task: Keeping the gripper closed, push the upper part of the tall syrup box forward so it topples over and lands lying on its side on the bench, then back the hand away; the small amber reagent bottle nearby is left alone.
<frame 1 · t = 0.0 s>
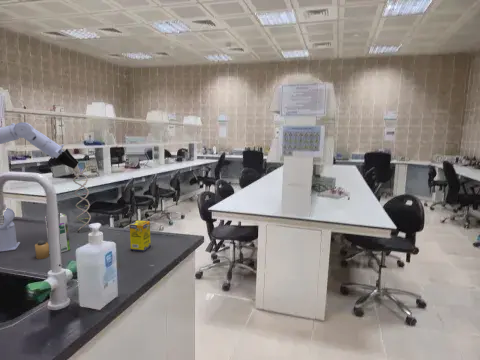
hand: (76, 165, 131), 32 cm above the counter, tool tilted 50°, fingers open, 7 cm apart
amber bottle: (43, 256, 118), on the counter
dna model: (85, 231, 147), on the counter
syrup box: (59, 251, 124), on the counter
supplement box: (141, 249, 127), on the counter
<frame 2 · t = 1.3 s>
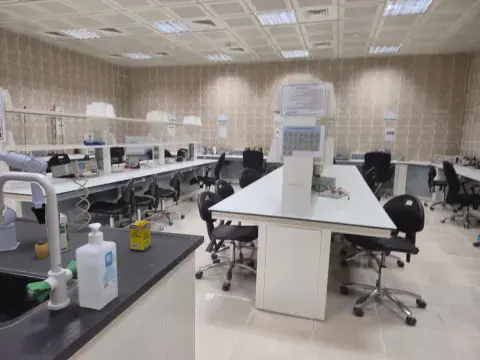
hand: (44, 221, 127), 10 cm above the counter, tool pointing down, fingers open, 6 cm apart
nothing on the counter moved.
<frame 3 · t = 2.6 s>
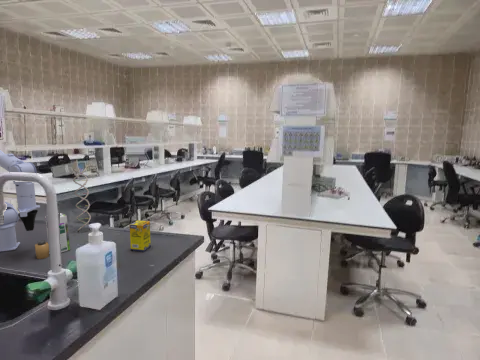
hand: (30, 230, 119), 10 cm above the counter, tool pointing down, fingers closed
nothing on the counter moved.
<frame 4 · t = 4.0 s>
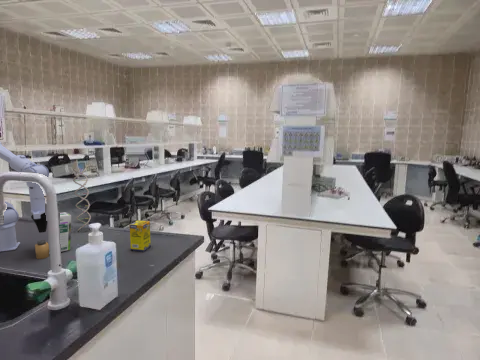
hand: (42, 231, 120), 8 cm above the counter, tool pointing down, fingers closed
syrup box: (59, 250, 124), on the counter, touching gripper
everything else where it was.
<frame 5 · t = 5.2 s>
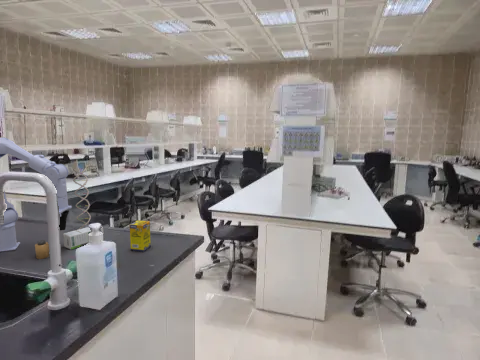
hand: (62, 229, 123), 8 cm above the counter, tool pointing down, fingers closed
syrup box: (65, 241, 126), point 3 cm above the counter
everything else where it was.
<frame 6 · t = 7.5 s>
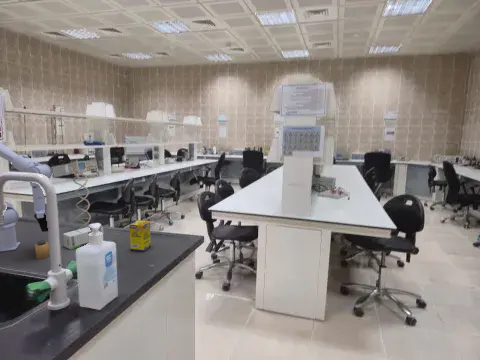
hand: (45, 231, 121), 9 cm above the counter, tool pointing down, fingers closed
nothing on the counter moved.
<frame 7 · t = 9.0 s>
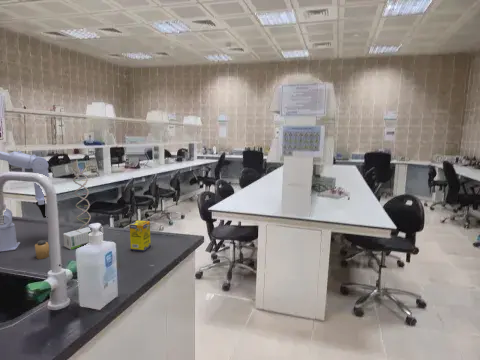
hand: (46, 217, 133), 10 cm above the counter, tool pointing down, fingers closed
nothing on the counter moved.
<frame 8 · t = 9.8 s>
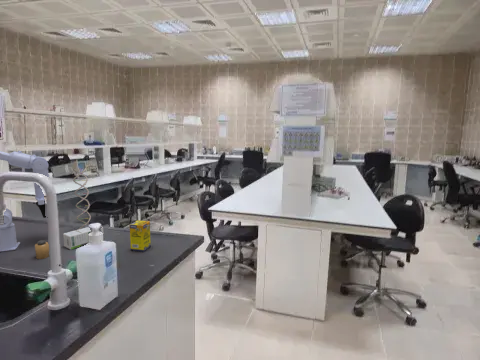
hand: (46, 217, 133), 10 cm above the counter, tool pointing down, fingers closed
nothing on the counter moved.
at the end: syrup box tilted 90°; syrup box inside the target area (8.8 cm from its centre), point 2.9 cm above the counter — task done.
